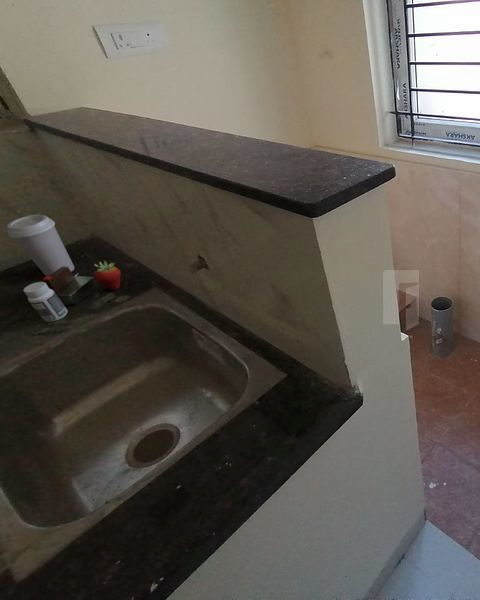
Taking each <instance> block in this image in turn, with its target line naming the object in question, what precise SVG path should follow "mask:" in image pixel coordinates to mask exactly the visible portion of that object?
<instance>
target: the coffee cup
mask: <svg viewBox="0 0 480 600" xmlns="http://www.w3.org/2000/svg"><path fill="white" fill-rule="evenodd" d="M55 225H56V222H55V221H54V220H53V219H52V218H50V217H48V216H47V215H45V214H30V215H26V216H23V217H19V218H16V219H14V220H12V221H10V222H9V223H8V224H7V235H8V237H10V238H13V240H14V241H15V242H16V243H17V244H18V245H19V247H20V248H21V249H22V250H23V251H24V253H26V254H27V256H28V257H29V258H30V259H31V261H33V263H34V264H35V265H36V266H37V268H38V269H39V270H40V271H41V272H42V273H43V274H44V276H45V277H46V276H47V277H48V276H49V275H51V274H52V273H53V272H55V271H56V270H58V269H59V268H61V267H68V268H69V269H70V271H71V272H73V271H74V270H75V265H74V263H73V261H72V259H71V257H70V255H69V253H68V251H67V249H66V247H65V245H64V243H63V240H62V239H61V237H60V235H59V233H58V231H57V228H56V227H55Z"/></svg>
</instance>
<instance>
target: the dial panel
mask: <svg viewBox="0 0 480 600" xmlns="http://www.w3.org/2000/svg"><path fill="white" fill-rule="evenodd" d="M74 277H75V279H74V280H72V281H71V282H70V283H68V284H67V285H66V286H64V287H63V288H62V289H60V290H59V291H58V292H55V294H56V295H57V297H58V298H59V299H60V301H61V302H62V303H63V305H64V306H78V305H79V304H80V303H81V302H82V301H84V300H85V299H86V298H87V297H89V296H90V295H91V294H93V292H95V291H96V290H97V289H98V288H99V287H100V283H99V282H98V281H97V280H96V279H95V276H82V275H81V276H80V273H79V272H77V273H76V274H75V275H74Z"/></svg>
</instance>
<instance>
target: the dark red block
mask: <svg viewBox="0 0 480 600" xmlns="http://www.w3.org/2000/svg"><path fill="white" fill-rule="evenodd" d="M72 272H73V271H72ZM72 272H71V271H70V269H69V268H68V267H61V268H59V269H58V270H56V271H55V272H53V273H52V274H51V275H49V276H48V277H47V276H46V275H45V277H43V278H42V282H44V283H46V285H47V286H48V287H49V289H52V290H53V291H54V292H58V291H59V290H60V289H62V288H63V287H64V286H66V285H67V284H68V283H70V282H71V281H72V280H74V279H75V277H74V276H75V275H74V274H73V273H72Z"/></svg>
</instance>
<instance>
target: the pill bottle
mask: <svg viewBox="0 0 480 600" xmlns="http://www.w3.org/2000/svg"><path fill="white" fill-rule="evenodd" d="M23 293H24V294H25V295H26V296H27V301H28V303H30V305H31V306H32V307H33V309H34V310H35V311H36V312H37V314H38V315H39V316H40V317H41V318H42V320H43V321H44V322H45V323H46V322H47V323H52V322H56V321H59V320H61V319H63V318H65V317H66V316H67V314H68V312H69V311H68V309H67V308H66V305H63V303H62V302H61V301H60V299H59V298H58V297H57V295H56V294H55V292H54V291H53V290H52V289H49V287H48V286H47V285H46V283H44V282H43V281H37V282H33V283H30V284H29V285H26V286H25V287H24V288H23Z"/></svg>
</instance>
